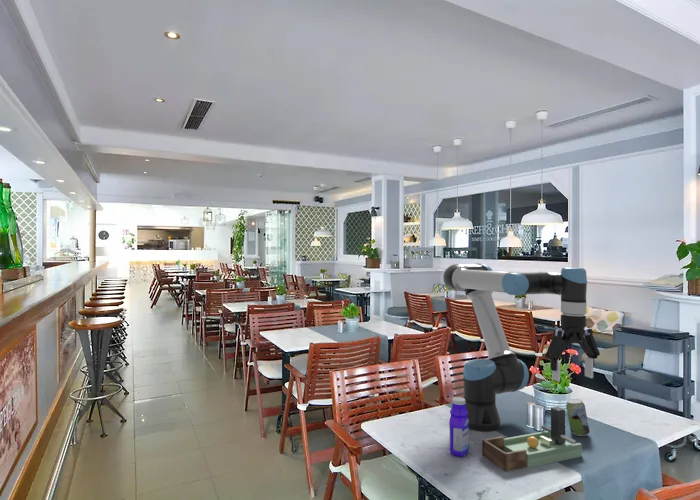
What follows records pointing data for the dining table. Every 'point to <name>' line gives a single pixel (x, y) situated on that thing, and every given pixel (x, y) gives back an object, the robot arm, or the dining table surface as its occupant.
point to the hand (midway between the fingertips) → (572, 378)
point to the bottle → (459, 428)
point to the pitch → (542, 449)
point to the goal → (503, 454)
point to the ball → (532, 442)
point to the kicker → (556, 428)
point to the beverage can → (577, 417)
